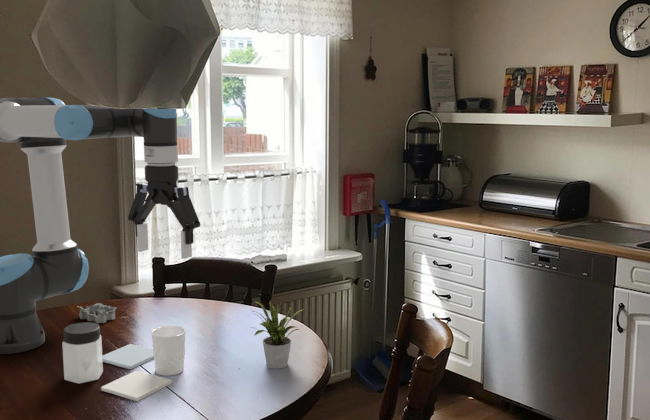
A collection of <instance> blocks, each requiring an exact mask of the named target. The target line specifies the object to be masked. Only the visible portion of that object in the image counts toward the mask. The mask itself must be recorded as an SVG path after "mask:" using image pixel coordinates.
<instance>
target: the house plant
mask: <svg viewBox="0 0 650 420" xmlns="http://www.w3.org/2000/svg"><path fill="white" fill-rule="evenodd" d="M254 302H255V303H256V304H258V305H259V306H260V307H261V308H262V311H263V313H264V315H265V316H266V317H264V316H263V315H262V314H261V313H259V312H257V311H254V310H252V312H254V315H255V316H257V317H259V315H260V317H261V318H262V319H261V321H262V322H261V323H259V325H261V326H263V328H265V329H266V330H265V329H258V328H256V327H255V330H256V331H255V334H254V336H253V337H255V336H257V335H259V334H261V333H264V332H266V333H268V335H269V336H266V335H265V334H264V336H266V337H264V338H263V340H262V345H263V351H264V357H265V363H266V366H267V367H268V368H270V369H274V370H277V369H283V368H286V367H288V363H289V359H290V351H291V346H292V339H291V338H290V337H289V336H290V334H292V333H294V332H295V331H299V330H300V331H301V329H299V328H298V326H294V325H290V326H287V325H288V324H289V323H290V321H291V320H292V319H293V318H294V317H296V316H297V315H298V313H301V311H304V310H305V308H304V309H303V308H302V309H300V310H297V311H296V312H295V313H293V315H292V316H291V317H290V318H289V315H290V312H291V310H292V306H290V307H289V309H288V311H287V313H286V316H285V317H283V318H282V319H280V321H279V317H278V316H279V311H280V310H281V308H278V309H277V310H276V308H275V306H274V305H273V304H272V302H270V301H269V309H270V311H269V312H270V316H269V313H268V311H267V310H266V308H265V306H264V305H263V304H262V303H261V302H258V301H255V300H254ZM282 302H283V301H281V303H280V304H282ZM255 313H257V314H255ZM258 314H259V315H258ZM270 317H271V318H270ZM263 319H264V320H265V321H264V320H263ZM249 328H250V329H251V328H252V329H254V327H252V326H251V327H249ZM294 328H295V329H294ZM292 329H293V330H292ZM289 330H291V331H290V332H289ZM287 332H288V333H287ZM286 334H287V335H286Z"/></svg>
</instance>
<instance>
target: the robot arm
mask: <svg viewBox="0 0 650 420" xmlns="http://www.w3.org/2000/svg"><path fill="white" fill-rule="evenodd" d="M92 105H93V104H65V103H64V102H63V100H61V99H59V98H56V97H55V98H54V97H46V96H40V97H39V96H38V97H35V96H34V97H3V98H0V142H1V143H7V144H8V143H19V147H20V150H21V151H22V152H23V153H25V154H26V156H27V162H28V171H29V181H30V189H31V190H30V191H31V199H32V206H33V216H34V217H33V218H34V222H35V223H34V225H35V233H36V234H35V235H36V244H35V245H34V246H33V248H32V249H31V250H32V255H31V254H29V253H23V252H21V253H19V252H18V253H15V254H8V255H7V254H6V255H3V256H0V355H11V354H12V355H13V354H19V353H24V352H28V351H31V350H34V349H37V348H38V347H40V346H42V345H43V344H44V343H45V342H46V336H45V330H44V328H43V326H42V324H41V321H40V318H39V317H38V315H37V307H36V306H37V303H36V302H37V301H40V300H45V299H48V298H52V297H56V296H61V295H67V294H70V293H72V292H76V291H77V290H80V289H81V288H82V287H83V286H84V284H85V283H86V282H87V279H88V277H89V260H88V258H87V257H86V254H85V253H84V251H83V250H81V249H80V248H78V243H76V242H75V241H74V240H72V238H71V232H70V231H71V229H70V219H69V213H68V203H67V202H68V201H67V192H66V183H65V177H64V175H65V174H64V167H63V158H62V153H63V151H64V150H65V149H66V148H67V141H82V140H92V139H93V140H95V139H109V138H126V137H128V138H129V137H137V138H138V137H139V138H143V155H144V157H143V158H144V163H145V166H144V180H145V181H146V182H140V183H137V184H136V193H135V195H134V198H133V202H132V206H131V207H130V211H129V214H128V217H127V220H128V221H129V222H133V224H134V226H135V237H136V238H137V252H139V253H141V252H146V251H148V250H149V231H148V227H149V226H148V223H147V219H148V217H149V215H150V214H151V212H152V211H153V209H154V208H155V206H156V205H163V206H167V208H169V209H170V210H171V211H172V213H173V215H174V216H175V218H176V219H177V221H178V223H179V225H180V226H181V227H182V229H181V230H180V251H181V253H180V256H181V257H180V259H181V260H186V259H188V258H191V257H193V254H192V252H193V251H192V250H193V249H192V245H193V243H194V230H195V229H197V228H200V227H201V222H200V220H199V217H198V215H197V212H196V209H195V207H194V205H193V202H192V199H191V198H190V192H189V186H187V185H185V186H178V185H177V182H178V180H179V165H178V164H176V163H178V162H179V156H178V155H179V154H178V125H177V123H178V122H177V121H178V120H177V119H178V118H177V117H178V113H177V108H176V109H114V108H105V107H96V106H92Z"/></svg>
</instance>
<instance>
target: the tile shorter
mask: <svg viewBox="0 0 650 420" xmlns="http://www.w3.org/2000/svg"><path fill="white" fill-rule="evenodd" d="M171 384H172V379H169V378H165V377H161V376H157V375H154V374H151V373H147V372H144V371H140V370H134V371H132V372H130V373H128V374H126V375H124V376H123V375H122V377H119V378H118V379H115V380H113V381H111V382H109V383H106V384H104V385H102V386H101V387H100V391H102V392H106V393H109V394H113V395H115V396H119V397H122V398H125V399H129V400H131V401H134V402H140V401H141V400H143V399H144V398H147V397H149V396H151V395H152V394H154V393H156V392H159V390H160V391H161V390H162V389H164V388H166V387H167V386H169V385H171Z"/></svg>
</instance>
